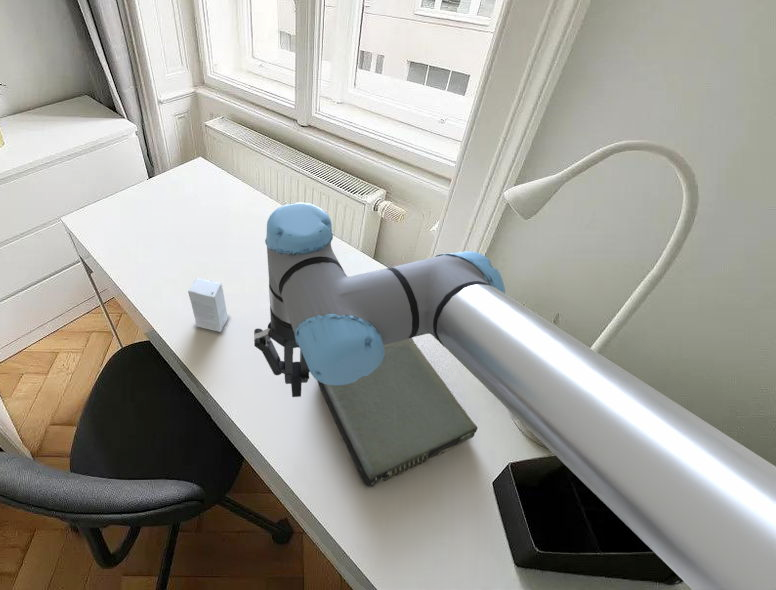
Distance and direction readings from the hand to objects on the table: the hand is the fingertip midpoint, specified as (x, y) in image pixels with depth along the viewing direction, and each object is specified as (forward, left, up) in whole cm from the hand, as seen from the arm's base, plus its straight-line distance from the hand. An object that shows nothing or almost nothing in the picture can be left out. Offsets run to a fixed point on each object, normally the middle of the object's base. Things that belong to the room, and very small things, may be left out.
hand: (295, 389), depth 70 cm
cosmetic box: (+21, +17, -9) cm, 28 cm away
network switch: (0, -17, -9) cm, 19 cm away
